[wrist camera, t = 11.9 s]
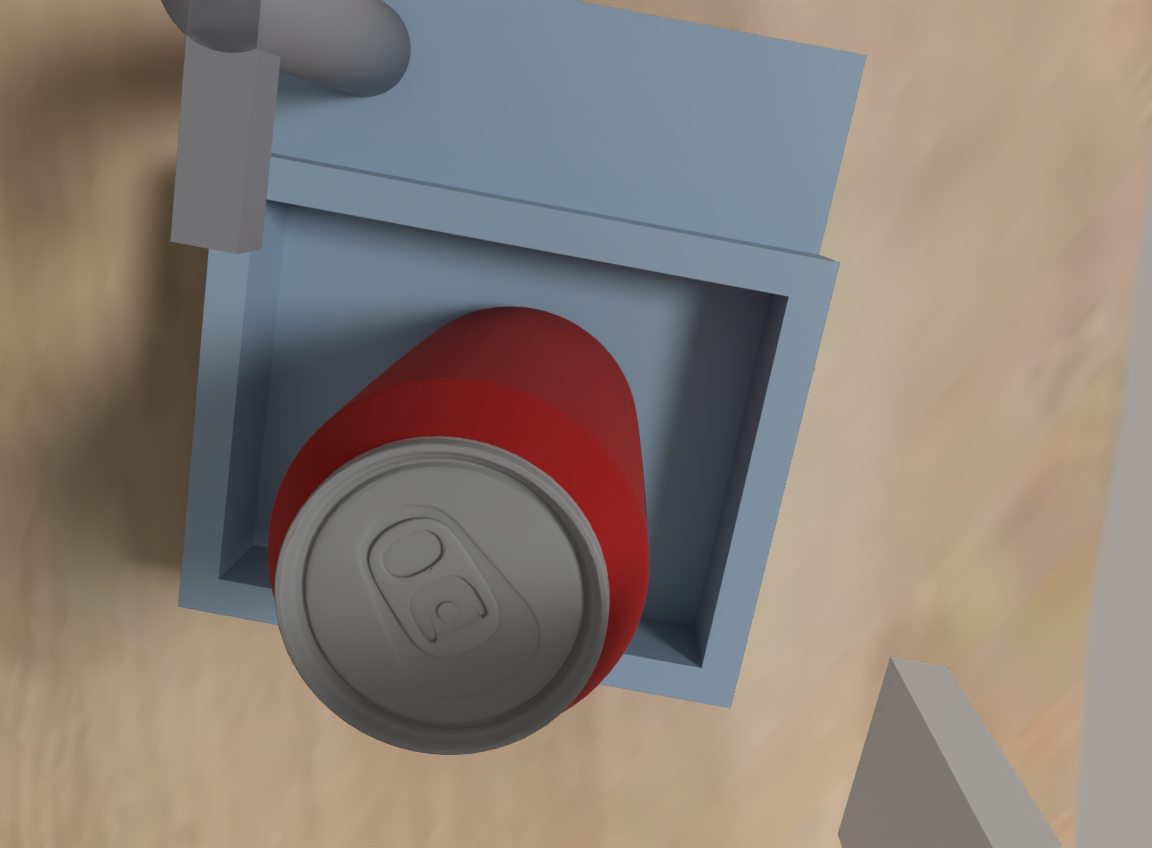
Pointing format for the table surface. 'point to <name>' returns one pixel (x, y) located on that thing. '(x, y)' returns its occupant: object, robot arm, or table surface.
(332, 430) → the beverage can
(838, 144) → the light blue hollow tray
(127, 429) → the table surface
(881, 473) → the table surface
